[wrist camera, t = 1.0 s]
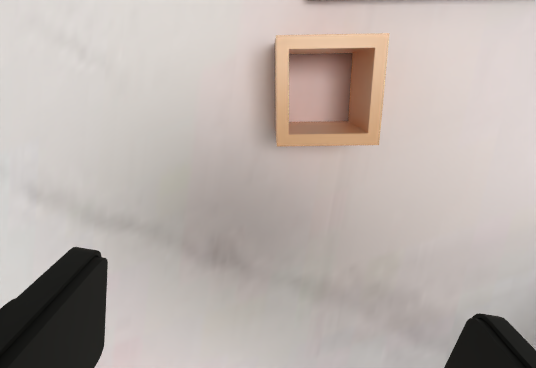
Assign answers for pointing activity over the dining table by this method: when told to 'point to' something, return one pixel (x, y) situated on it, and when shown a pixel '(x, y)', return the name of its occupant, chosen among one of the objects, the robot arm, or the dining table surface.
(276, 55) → the collar
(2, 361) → the robot arm
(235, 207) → the dining table surface
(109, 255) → the dining table surface
